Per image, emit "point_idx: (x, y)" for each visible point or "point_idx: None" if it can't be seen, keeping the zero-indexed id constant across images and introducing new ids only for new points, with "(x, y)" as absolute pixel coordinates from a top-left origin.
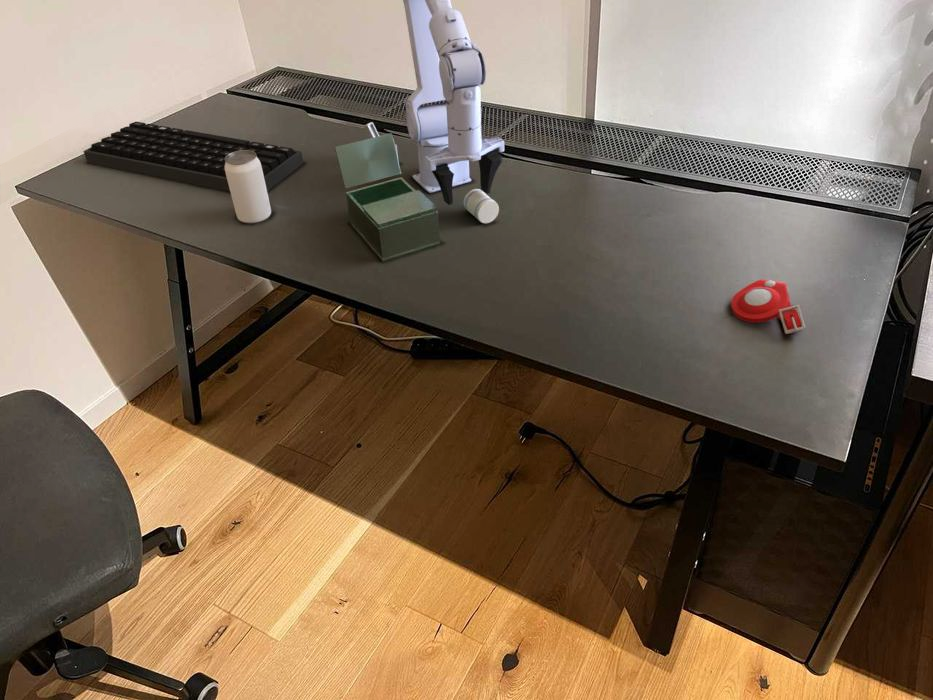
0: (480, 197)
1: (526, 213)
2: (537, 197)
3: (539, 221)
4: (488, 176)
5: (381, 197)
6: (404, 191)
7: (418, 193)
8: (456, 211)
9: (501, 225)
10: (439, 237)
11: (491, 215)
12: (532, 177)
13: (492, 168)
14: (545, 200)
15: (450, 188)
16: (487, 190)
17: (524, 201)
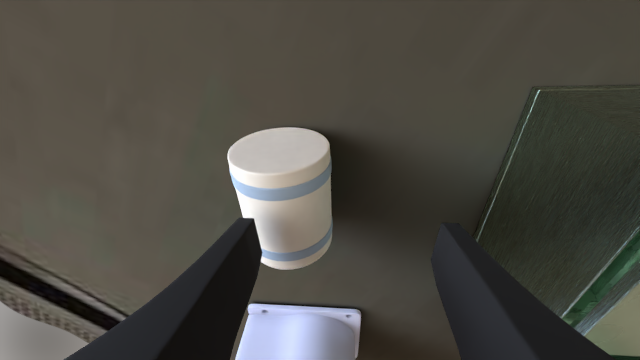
0: (285, 217)
1: (140, 117)
2: (92, 181)
3: (95, 36)
4: (206, 297)
5: None
6: None
7: (604, 335)
8: (345, 228)
9: (250, 89)
10: (554, 95)
11: (270, 138)
12: (99, 259)
13: (138, 354)
14: (66, 156)
15: (513, 304)
16: (245, 228)
17: (136, 181)
